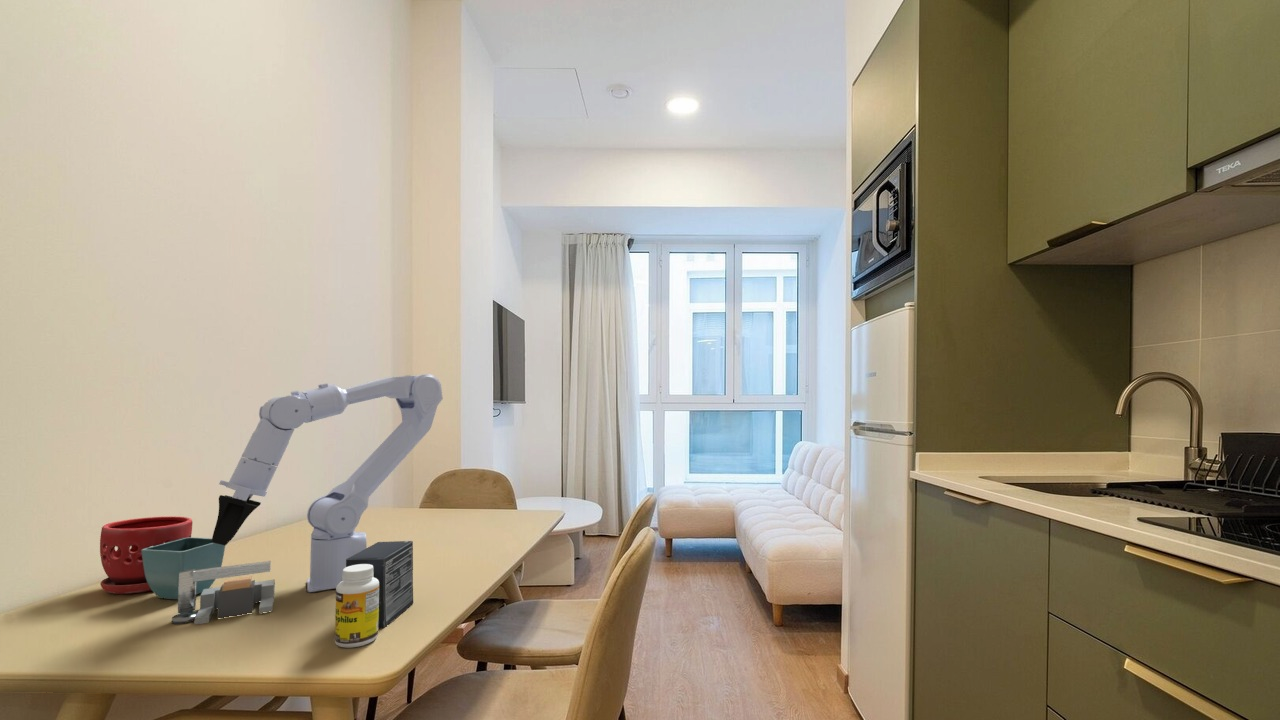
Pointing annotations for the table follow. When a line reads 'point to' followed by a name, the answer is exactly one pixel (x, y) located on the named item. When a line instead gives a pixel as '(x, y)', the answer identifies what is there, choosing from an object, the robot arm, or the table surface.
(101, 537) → the plant pot
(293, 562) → the table surface
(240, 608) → the orange and grey block
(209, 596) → the socket
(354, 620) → the supplement bottle
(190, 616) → the door handle base
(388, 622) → the small box
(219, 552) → the flower pot
